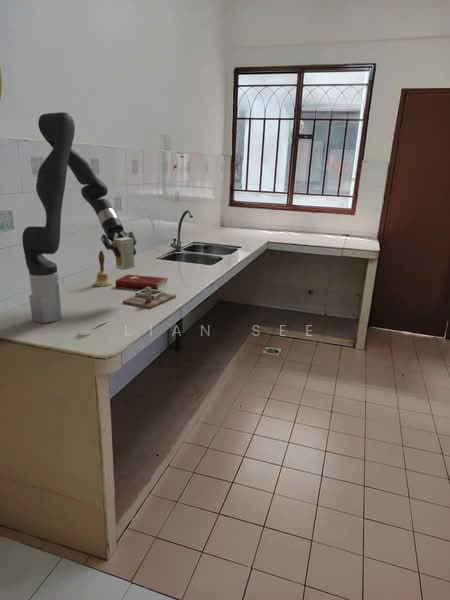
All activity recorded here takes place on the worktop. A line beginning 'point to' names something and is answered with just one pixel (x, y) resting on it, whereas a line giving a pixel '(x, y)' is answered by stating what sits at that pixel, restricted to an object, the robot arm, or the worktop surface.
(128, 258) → the skincare box
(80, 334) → the fork
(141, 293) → the pin board
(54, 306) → the robot arm
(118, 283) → the hardcover book
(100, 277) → the hand bell
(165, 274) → the worktop surface
